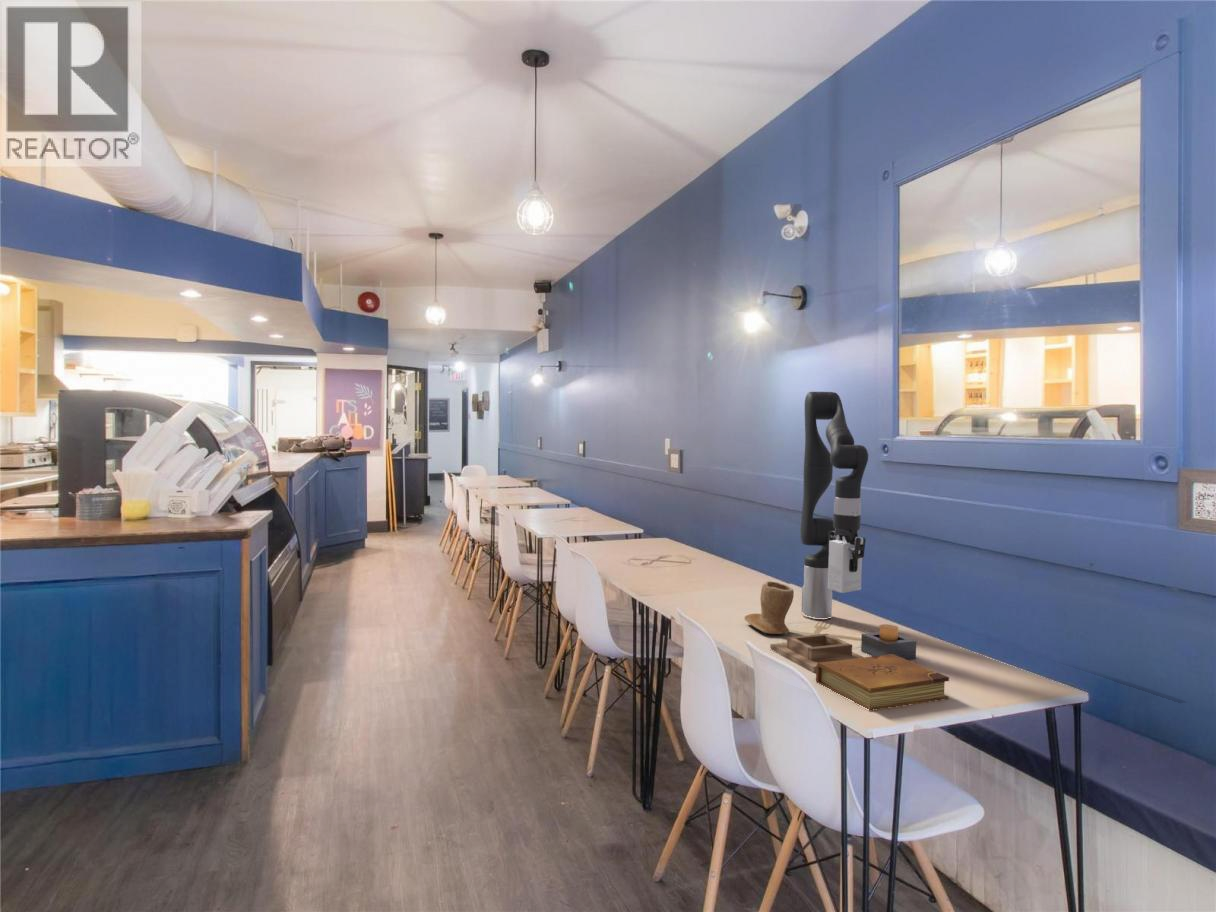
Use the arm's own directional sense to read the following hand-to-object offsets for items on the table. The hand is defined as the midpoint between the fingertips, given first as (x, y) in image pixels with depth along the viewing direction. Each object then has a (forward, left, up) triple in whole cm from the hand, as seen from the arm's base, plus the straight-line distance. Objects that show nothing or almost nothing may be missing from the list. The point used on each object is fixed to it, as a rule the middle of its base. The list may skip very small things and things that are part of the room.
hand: (845, 569), depth 204 cm
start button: (+14, +4, -18) cm, 23 cm away
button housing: (+14, +4, -22) cm, 26 cm away
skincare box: (0, 0, -6) cm, 6 cm away
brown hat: (-17, -14, -22) cm, 31 cm away
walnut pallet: (+10, -16, -22) cm, 29 cm away
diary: (+35, -17, -22) cm, 45 cm away
